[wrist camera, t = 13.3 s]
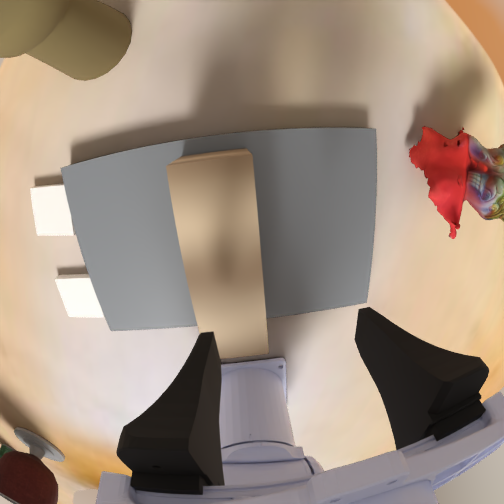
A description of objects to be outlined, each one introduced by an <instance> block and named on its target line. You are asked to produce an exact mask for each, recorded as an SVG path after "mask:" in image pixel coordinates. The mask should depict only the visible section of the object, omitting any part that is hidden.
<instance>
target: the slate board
mask: <svg viewBox="0 0 504 504" xmlns="http://www.w3.org/2000/svg"><path fill="white" fill-rule="evenodd" d="M238 148H247V149H248V151H249V152H250V153H251V154H252V156H253V167H254V178H255V189H256V201H257V212H258V224H259V236H260V247H261V259H262V271H263V284H264V296H265V309H266V319H267V318H274V317H282V316H289V315H296V314H303V313H309V312H316V311H322V310H328V309H334V308H340V307H346V306H351V305H357V304H362V303H367V297H368V290H369V282H370V274H371V264H372V254H373V243H374V230H375V213H376V186H377V144H376V129H372V128H292V129H274V130H260V131H248V132H238V133H228V134H220V135H212V136H204V137H197V138H190V139H184V140H178V141H172V142H166V143H160V144H155V145H150V146H145V147H140V148H135V149H131V150H126V151H122V152H117V153H113V154H109V155H105V156H101V157H97V158H93V159H90V160H86V161H82V162H79V163H75V164H72V165H69V166H66V167H63V168H61V172H62V177H63V182H64V187H65V192H66V196H67V201H68V205H69V209H70V213H71V217H72V221H73V225H74V229H75V232H76V236H77V239H78V243H79V246H80V249H81V253H82V256H83V259H84V262H85V265H86V268H87V271H88V274H89V277H90V280H91V282H92V285H93V288H94V291H95V293H96V296H97V299H98V301H99V304H100V306H101V309H102V311H103V314H104V316H105V319H106V321H107V323H108V326H109V328H110V330H111V331H124V330H146V329H163V328H177V327H190V326H198V325H197V321H196V317H195V313H194V309H193V304H192V300H191V296H190V292H189V287H188V283H187V278H186V274H185V269H184V264H183V259H182V255H181V250H180V245H179V240H178V234H177V229H176V224H175V218H174V213H173V207H172V201H171V195H170V189H169V183H168V176H167V170H166V166H167V165H168V164H170V163H171V162H173V161H174V160H176V159H178V158H179V157H181V156H184V155H190V154H197V153H204V152H212V151H220V150H229V149H238Z"/></svg>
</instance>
